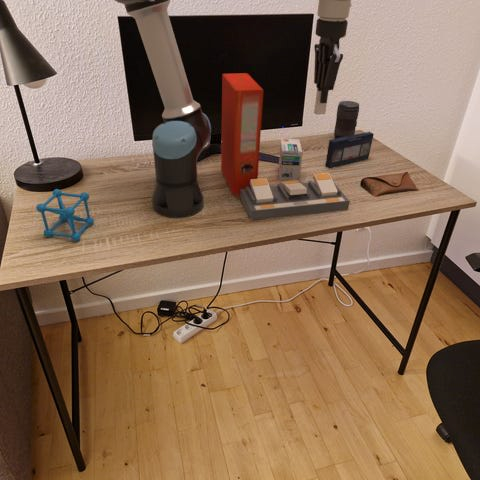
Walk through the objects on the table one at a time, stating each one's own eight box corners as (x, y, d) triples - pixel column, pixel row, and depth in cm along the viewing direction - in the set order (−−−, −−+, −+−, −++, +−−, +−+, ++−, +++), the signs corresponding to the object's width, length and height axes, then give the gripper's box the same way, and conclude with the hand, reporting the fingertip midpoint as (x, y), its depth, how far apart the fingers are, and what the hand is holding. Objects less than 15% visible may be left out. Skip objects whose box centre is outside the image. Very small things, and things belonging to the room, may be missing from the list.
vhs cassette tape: (329, 169, 151) (333, 142, 146) (323, 165, 153) (328, 139, 148) (369, 160, 158) (375, 134, 153) (363, 157, 161) (369, 131, 155)
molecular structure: (62, 218, 121) (54, 186, 115) (96, 223, 119) (89, 191, 114) (42, 238, 113) (33, 205, 107) (78, 243, 111) (70, 210, 106)
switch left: (256, 203, 125) (256, 199, 123) (249, 183, 129) (250, 179, 128) (272, 201, 126) (273, 197, 124) (265, 181, 130) (266, 177, 129)
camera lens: (341, 135, 177) (347, 98, 168) (357, 141, 172) (364, 104, 163) (328, 140, 173) (333, 102, 164) (344, 146, 168) (351, 108, 159)
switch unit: (250, 220, 123) (251, 206, 120) (240, 197, 133) (240, 184, 130) (348, 209, 129) (350, 196, 126) (330, 189, 139) (332, 176, 137)
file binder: (243, 169, 149) (247, 72, 131) (257, 193, 136) (263, 89, 117) (221, 171, 148) (221, 73, 129) (232, 195, 134) (234, 90, 115)
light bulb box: (299, 182, 143) (303, 151, 136) (279, 181, 143) (282, 150, 136) (297, 167, 151) (300, 138, 145) (277, 167, 151) (280, 137, 145)
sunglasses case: (374, 197, 135) (371, 176, 134) (361, 198, 142) (358, 178, 141) (421, 190, 140) (419, 169, 140) (406, 191, 147) (404, 171, 146)
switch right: (320, 196, 129) (322, 192, 127) (312, 177, 133) (313, 173, 132) (336, 195, 130) (338, 191, 128) (327, 176, 134) (329, 172, 133)
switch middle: (290, 195, 125) (290, 189, 124) (281, 186, 132) (281, 181, 131) (306, 193, 126) (306, 187, 125) (296, 185, 133) (297, 179, 132)
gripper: (358, 22, 101) (342, 121, 115) (335, 14, 112) (323, 105, 125) (329, 23, 100) (315, 122, 113) (308, 14, 110) (298, 106, 124)
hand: (319, 113), depth 119 cm, fingers closed
